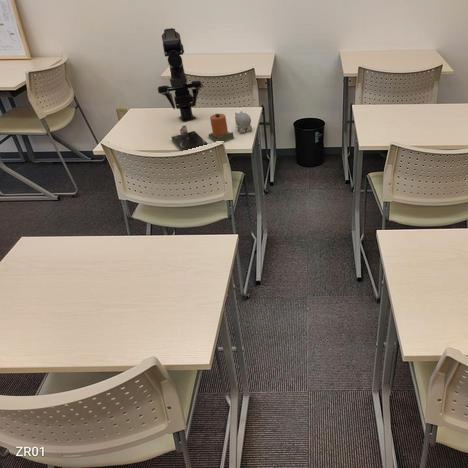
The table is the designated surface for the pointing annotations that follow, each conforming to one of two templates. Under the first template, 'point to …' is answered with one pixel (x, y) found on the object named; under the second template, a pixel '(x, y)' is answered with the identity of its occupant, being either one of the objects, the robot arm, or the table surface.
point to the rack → (221, 137)
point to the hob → (178, 139)
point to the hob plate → (192, 143)
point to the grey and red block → (183, 131)
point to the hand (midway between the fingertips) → (184, 107)
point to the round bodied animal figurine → (243, 122)
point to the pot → (219, 125)
